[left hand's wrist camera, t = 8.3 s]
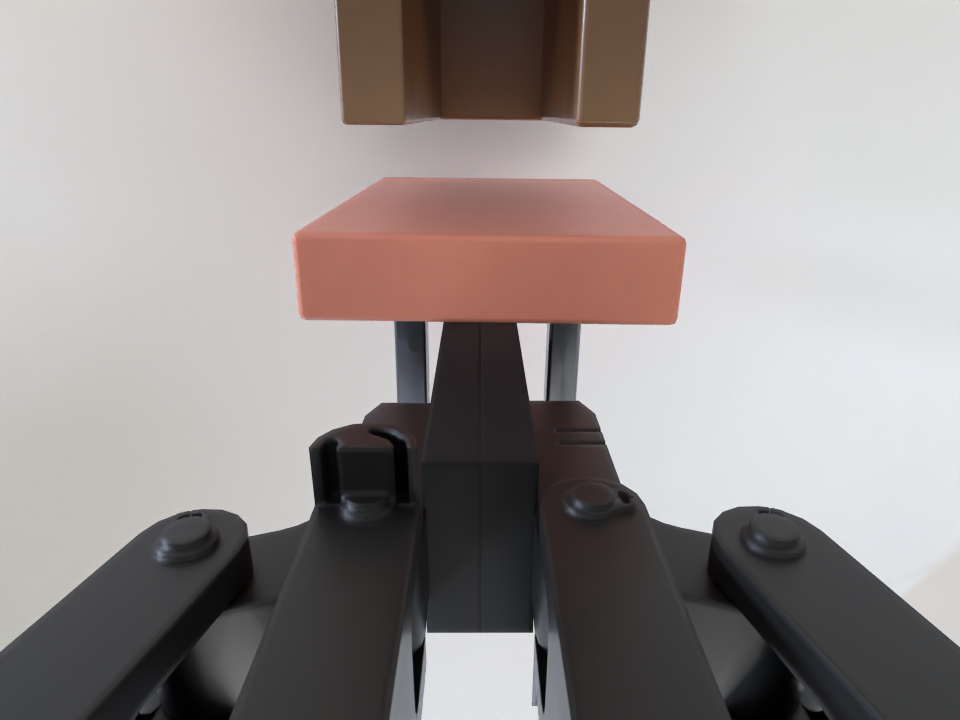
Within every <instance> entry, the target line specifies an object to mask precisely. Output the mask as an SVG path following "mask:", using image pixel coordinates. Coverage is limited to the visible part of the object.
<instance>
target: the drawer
mask: <svg viewBox="0 0 960 720" xmlns="http://www.w3.org/2000/svg"><path fill="white" fill-rule="evenodd" d="M334 1H335V18H336V34H337V50H338V66H339V83H340V99H341V115H342V121H343V123H344V124H355V125H405V124H412V123H418V122H424V121H431V120H437V119H471V120H545V121H551V122H557V123H562V124H568V125H574V126H580V127H633V126H636V125H637V123H638V121H639V118H640V107H641V96H642V85H643V74H644V63H645V52H646V40H647V29H648V18H649V7H650V0H334ZM292 243H293V253H294V264H295V275H296V286H297V297H298V308H299V314H300V316H301V318H303V319H306V320H356V321H394V325H395V351H396V377H397V403H429V354H428V322H496V323H548V324H547V345H546V365H545V386H544V401H576V389H577V374H578V360H579V345H580V330H581V324H636V325H671V324H674V323H675V322H676V320H677V316H678V308H679V300H680V292H681V284H682V276H683V267H684V259H685V251H686V241H685V238H683V237H682V236H680V235H679V234H677V233H676V232H674V231H673V230H671V229H670V228H668V227H667V226H665V225H663V224H662V223H660V222H659V221H657V220H656V219H654V218H653V217H651V216H650V215H648V214H647V213H645V212H644V211H642V210H641V209H639V208H638V207H636V206H635V205H633V204H632V203H630V202H629V201H627V200H625V199H624V198H622V197H621V196H619V195H618V194H616V193H615V192H613V191H612V190H610V189H609V188H607V187H606V186H604V185H603V184H601V183H600V182H598V181H596V180H571V179H486V178H401V177H385V178H383V179H381V180H379V181H378V182H376V183H374V184H373V185H371V186H370V187H368V188H366V189H365V190H363V191H362V192H360V193H358V194H357V195H355V196H354V197H352V198H350V199H349V200H347V201H345V202H344V203H342V204H341V205H339V206H337V207H336V208H334V209H333V210H331V211H329V212H328V213H326V214H325V215H323V216H321V217H320V218H318V219H316V220H315V221H313V222H312V223H310V224H308V225H307V226H305V227H304V228H302V229H300V230H299V231H297V232H296V233H294V235H293V238H292Z"/></svg>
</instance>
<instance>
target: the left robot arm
mask: <svg viewBox="0 0 960 720" xmlns="http://www.w3.org/2000/svg"><path fill="white" fill-rule="evenodd" d="M309 453H310V462H311V471H312V480H313V489H314V498H315V507H314V510H313V512H312V515H311V517H310V520H309V521H307V522H305V523H302V524H300V525H298V526H295V527H291V528H287V529H284V530H280V531H275V532H270V533H265V534H260V535H255V536H250V537H249V536H248V529H247V524H246V523H245V522H244V521H243V520H242V519H241V518H240V517H239V516H238V515H236V514H233V513H230V512H227V511H224V510H210V509H201V510H192V511H187V512H183V513H179V514H176V515H174V516H172V517H169V518H167V519H164V520H161V521H159V522H157V523H155V524H154V525H152V526H151V527H149V528H148V529H146V530H145V531H143V532H141V533H140V534H139V535H138V536H136V537H135V538H134V539H133V540H132V541H130V542H129V543H128V544H127V545H126V546H125V547H123V548H122V549H121V550H120V551H119V552H118V553H116V554H115V555H114V556H113V557H112V558H110V559H109V560H108V561H107V562H106V563H105V564H103V565H102V566H101V567H100V568H99V569H97V570H96V571H95V572H94V573H93V574H92V575H90V576H89V577H88V578H87V579H86V580H85V581H83V582H82V583H81V584H80V585H79V586H77V587H76V588H75V589H74V590H73V591H72V592H70V593H69V594H68V595H67V596H66V597H65V598H63V599H62V600H61V601H60V602H59V603H57V604H56V605H55V606H54V607H53V608H52V609H50V610H49V611H48V612H47V613H46V614H45V615H43V616H42V617H41V618H40V619H39V620H37V621H36V622H35V623H34V624H33V625H32V626H30V627H29V628H28V629H27V630H26V631H25V632H23V633H22V634H21V635H20V636H19V637H17V638H16V639H15V640H14V641H13V642H12V643H10V644H9V645H8V646H7V647H6V648H5V649H3V650H2V651H1V652H0V720H421V715H422V704H423V693H424V683H425V672H426V645H425V631H426V622H427V633H533V617H534V627H535V645H534V669H533V694H532V706H538V714H539V720H960V647H959V646H958V645H956V644H955V643H954V642H953V641H952V640H950V639H949V638H948V637H947V636H946V635H944V634H943V633H942V632H941V631H940V630H939V629H937V628H936V627H935V626H934V625H933V624H931V623H930V622H929V621H928V620H927V619H926V618H924V617H923V616H922V615H921V614H920V613H918V612H917V611H916V610H915V609H914V608H913V607H911V606H910V605H909V604H908V603H907V602H905V601H904V600H903V599H902V598H901V597H899V596H898V595H897V594H896V593H895V592H894V591H892V590H891V589H890V588H889V587H888V586H886V585H885V584H884V583H883V582H882V581H880V580H879V579H878V578H877V577H876V576H875V575H873V574H872V573H871V572H870V571H869V570H867V569H866V568H865V567H864V566H863V565H861V564H860V563H859V562H858V561H857V560H856V559H854V558H853V557H852V556H851V555H850V554H848V553H847V552H846V551H845V550H844V549H842V548H841V547H840V546H839V545H838V544H837V543H835V542H834V541H833V540H832V539H831V538H829V537H828V536H827V535H826V534H825V533H823V532H822V531H821V530H819V529H818V528H816V527H815V526H813V525H812V524H810V523H809V522H807V521H806V520H804V519H802V518H799V517H797V516H794V515H792V514H789V513H787V512H784V511H782V510H778V509H774V508H768V507H760V506H752V507H737V508H733V509H730V510H727V511H724V512H722V513H721V514H720V515H719V516H718V517H717V518H716V519H715V520H714V524H713V530H712V534H709V533H705V532H700V531H695V530H690V529H685V528H680V527H676V526H672V525H669V524H665V523H662V522H660V521H658V520H655V519H653V518H651V517H650V516H649V514H648V511H647V509H646V506H645V504H644V503H643V501H642V500H641V499H640V497H639V496H638V495H637V493H635V492H634V491H632V490H630V489H629V488H627V487H626V486H624V485H622V484H620V481H619V478H618V475H617V473H616V470H615V467H614V464H613V462H612V459H611V456H610V454H609V451H608V448H607V445H605V440H604V437H603V434H602V432H601V429H600V426H599V423H598V421H597V418H596V415H595V413H593V412H592V411H591V410H589V409H588V408H587V407H586V406H584V405H583V404H582V403H581V402H579V401H529V397H528V390H527V384H526V378H525V372H524V366H523V360H522V354H521V348H520V341H519V335H518V329H517V323H496V322H444V324H443V330H442V336H441V342H440V348H439V354H438V360H437V367H436V373H435V379H434V385H433V391H432V397H431V403H381V404H380V405H379V406H377V407H376V408H375V409H373V410H372V411H371V412H370V413H368V414H367V415H366V416H365V418H364V421H363V424H352V425H348V426H345V427H341V428H337V429H334V430H331V431H330V432H328V433H326V434H324V435H322V436H320V437H318V438H317V439H316V440H315V442H314V443H313V444H312V445H311V446H310V447H309Z"/></svg>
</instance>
